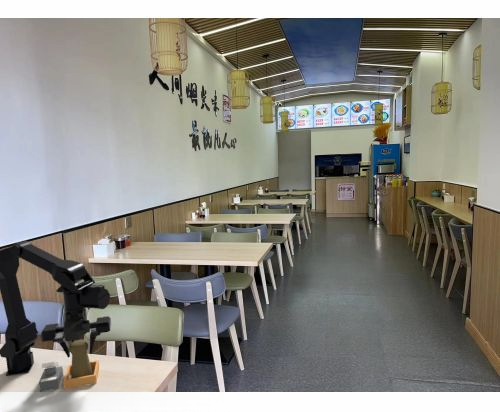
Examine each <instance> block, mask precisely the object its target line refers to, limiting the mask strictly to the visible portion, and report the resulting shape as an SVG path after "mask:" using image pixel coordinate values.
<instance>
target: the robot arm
mask: <svg viewBox="0 0 500 412" xmlns="http://www.w3.org/2000/svg"><path fill="white" fill-rule="evenodd" d="M20 259H21V260H24V261H25V262H27V263H30V264H31V265H33V266H36V267H37V268H39V269H41V270H44V271H45V272H47V273H48V274H50V276H51V277H52V279H53V280H54V282H56V283H58V284H59V285H60V286H59V287H58V288H57V289H56V290H55V292H56V293H62V297H63V305H64V306H63V307H64V317H65V318H64V322H63V326H60V323H59V322H58V323H57V322H56V323H50V324H46V325H45V326H44V327H43V329H42V330H41V332H40V338H41V339H40V340H41V342H43V343H44V342H49V341H50V342H52V343H57V344H59V345H60V346H61V349H63V352H64V353H65V355H66V356H67V358H70V356H71V352H70V349H69V348H70V344H69V342H71V341H77V340H83V338H84V335H86V334H88V333H90V334H89V354H91V355H92V353H93V349H94V346H95V345H94V344H95V341H96V338H97V337H98V336H101V334H104V333H108V332H110V331H111V327H112V320H111V319H112V318H111V317H110V316H109V315H107V316H101V317H97V318H96V321H93V322H91V321H90V320H89V319H88V314H87V309H97V310H105V309H106V308H108V305H109V304H110V300H111V294H110V292H109V290H108V289H107V288H105V287H106V286H105V284H96V282H95V280H94V279H93V277H92V276H91V274H90V273H89V271H87V269H86V267H85V265H84V264H83V263H82V262H78V261H75V260H72V259H63V258H59V257H57V256H55V255H54V254H51V253H49V252H47V251H46V250H44V249H41V248H40V247H37V246H36V245H34V244H32V242H30V241H26V240H24V241H21V242H17V243H15V244H12V245H11V246H8V247H7V246H6V247H3V248H1V249H0V295H1V299H2V304H3V309H4V312H5V316H6V321H7V327H6V329H5V332H4V340H5V343H4V344H3V345H2V346H1V348H0V357H1V358H5V361H6V367H7V372H6V373H5V376H6V377H9V376H14V375H15V376H16V375H20V374H26V373H29V372H30V371H31V369H32V367H33V365H34V364H35V360H34V359H35V358H34V352H33V351H32V350H31V347H34V346H35V345H36V341H37V339H38V334H39V331H38V330H37V323H36V322H35V321H31V320H29V318H27V316H26V311H25V307H24V303H23V302H24V301H23V300H22V295H21V291H20V290H21V289H20V287H19V280H18V276H17V274H18V270H19V267H20ZM80 282H81V283H80Z"/></svg>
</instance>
